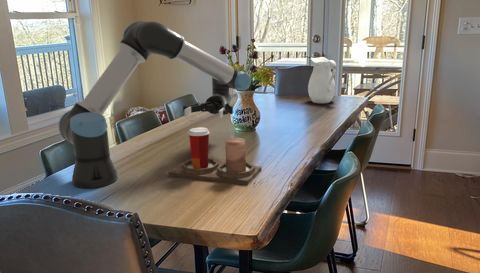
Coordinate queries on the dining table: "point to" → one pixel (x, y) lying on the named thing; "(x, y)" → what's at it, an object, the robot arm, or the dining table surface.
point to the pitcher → (322, 80)
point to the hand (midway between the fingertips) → (202, 114)
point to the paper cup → (199, 147)
